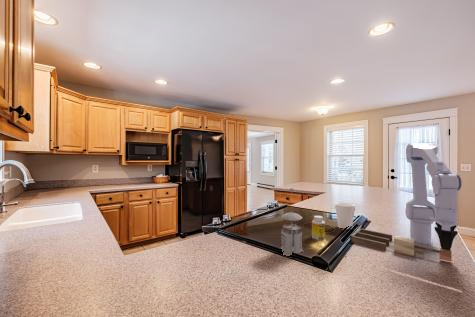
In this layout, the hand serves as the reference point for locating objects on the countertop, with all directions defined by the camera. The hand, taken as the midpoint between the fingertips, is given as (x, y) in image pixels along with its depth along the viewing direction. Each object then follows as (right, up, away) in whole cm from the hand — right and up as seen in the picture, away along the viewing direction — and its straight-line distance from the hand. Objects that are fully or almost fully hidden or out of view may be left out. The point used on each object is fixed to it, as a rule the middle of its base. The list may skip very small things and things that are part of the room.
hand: (445, 246), depth 76 cm
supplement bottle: (-37, -6, +23) cm, 43 cm away
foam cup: (-17, -6, +37) cm, 41 cm away
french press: (-53, -6, +7) cm, 53 cm away
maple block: (-5, -5, +4) cm, 9 cm away
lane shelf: (-11, -6, +15) cm, 19 cm away
